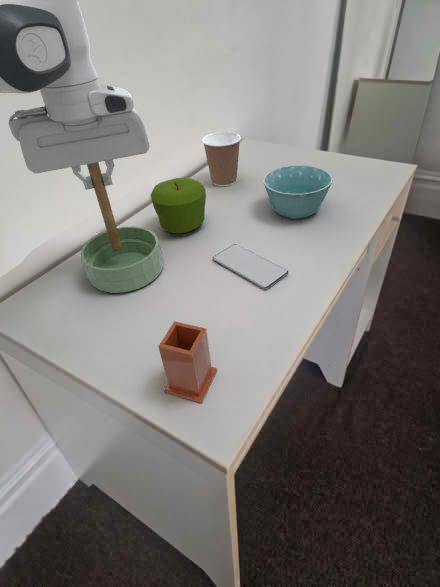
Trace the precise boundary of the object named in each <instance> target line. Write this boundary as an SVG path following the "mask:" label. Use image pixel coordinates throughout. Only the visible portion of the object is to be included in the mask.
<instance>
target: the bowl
mask: <svg viewBox="0 0 440 587" xmlns="http://www.w3.org/2000/svg"><path fill="white" fill-rule="evenodd" d="M262 182H263V186H264V189H265V191H266V194H267V197H268V199H269V201H270V204H271V207H272V209H273V211H274V212H276V213H277V214H278V215H280V216H282V217H284V218H287V219H292V220H293V219H294V220H299V219H300V220H301V219H306V218H308V217H310V216H312V215H313V214H315V213H317V212H318V211H319V209H320V208H321V206H322V204H323V202H324V200H325V199H326V196H327V194H328V192H329V190H330V188H331V185H332V183H333V176H332V174H331V173H330V172H329V171H327V170H326V169H323V168H321V167H318V166H312V165H306V164H305V165H304V164H302V165H301V164H293V165H286V166H281V167H280V166H279V167H276V168H275V169H272V170H270V171H268V172H267V173H266V174H265V175H264V177H263V180H262Z"/></svg>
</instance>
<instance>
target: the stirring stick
mask: <svg viewBox="0 0 440 587" xmlns="http://www.w3.org/2000/svg"><path fill="white" fill-rule="evenodd" d="M86 167H87V170H88V173H89V176H90V177H91V180H92V183H93V186H94V188H93V190H94V193H95V196H96V197H95V198H96V199H97V203H98V206H99V209H100V213H101V216H102V219H103V222H104V226H105V229H106V230H105V231H107V233H108V236H109V239H110V243H111V246H112V249H113V251H120V250H122V244H121V241H120V237H119V233H118V230H117V228H118V227H117V223H116V219H115V216H114V212H113V209H112V205H111V201H110V198H109V194H108V192H107V188H106V187H107V186H105V185H104V181H103V178H102V174H103V173H102V170H101V166H100V162H97V163H91V164H86Z"/></svg>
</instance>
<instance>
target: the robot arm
mask: <svg viewBox="0 0 440 587" xmlns="http://www.w3.org/2000/svg"><path fill="white" fill-rule="evenodd" d="M37 91H39V93H40V96H41V99H42V101H43V105H44V106H39V107H38V106H37V107H33V108H29V109H19V110H18V109H17V110H16V111H14V113H13V114H12V115H11V116H9V119H8V127H9V129H10V131H11V134H12V136H13V138H14V139H15V140H16V141H18V142H19V144H20V148H21V153H22V157H23V160H24V163H25V166H26V168H27V170H29V171H30V172H32V173H33V174H41V173H47V172H52V171H57V170H64V169H69V168H71V170H72V173H73V174H74V176H76V177H77V178H78V179H79V180H80V181H81V182H82V183H83V186H84V189H85V190H86V191H88V190H92V189H94V186H93V183H92V180H91V177H90V175H87V176H86V175H85V174H84V173H83V172H82V166H85V165H86V166H87V164H91V163H97V162H99V163H101V162H104V164H105V166H106V170H105V172H104V173H102V178H103V181H104V185H105V187H107V186H111V185H112V186H113V185H114V184H113V179H112V177H111V176H112V175H113V171H114V168H115V162H114V160H118V159H122V158H123V159H124V158H128V157H133V156H134V157H135V156H139V155H145V154H147V153H148V151H149V149H150V142H149V137H148V134H147V131H146V128H145V125H144V122H143V120H142V117H141V116H140V114H139V113H138V111H137V110H136V109H135V108H134V99H133V97H132V95H131V93H130V92H129V91H128V90H126V88H125V89H124V88H122V87H117V86H112V85H106V84H103V83H102V84H101V83H100V79H99V75H98V72H97V70H96V68H95V66H94V64H93V61H92V57H91V42H90V38H89V34H88V29H87V25H86V22H85V19H84V15H83V12H82V8H81V5H80V2H79V0H0V94H23V95H24V94H32V93H34V92H37Z"/></svg>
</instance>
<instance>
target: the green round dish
mask: <svg viewBox="0 0 440 587" xmlns="http://www.w3.org/2000/svg"><path fill="white" fill-rule="evenodd" d="M117 230H118V233H119V237H120V241H121V244H122V250H120V251H113V249H112V246H111V243H110V239H109V236H108V233H107V230H105V231H102V232H100V233H98V234H97V235H95V236H93V237H92V238H90V239H89V240H88V241H87V242H86V243H85V244H84V245H83V246H82V248H81V249H80V257H79V258H80V261H81V264H82V266H83V268H84V271H85V273H86V276H87V279H88V281H89V283H90V284H91V286H92V287H94V288H95V289H97V290H99V291H101V292H106V293H112V294H113V293H117V294H118V293H127V292H130V291H135V290H138V289H140V288H143V287H145V286H148V285H149V284H150V283H151V282H153V281H154V280H155V279H157V278H158V276H160V274H161V272H162V270H163V268H164V258H163V255H162V249H161V246H160V241H159V237H158V235H157V234H156V233H155V232H154V231H153V230H150V229H149V228H145V227H141V226H134V225H132V226H119V227H117Z"/></svg>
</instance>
